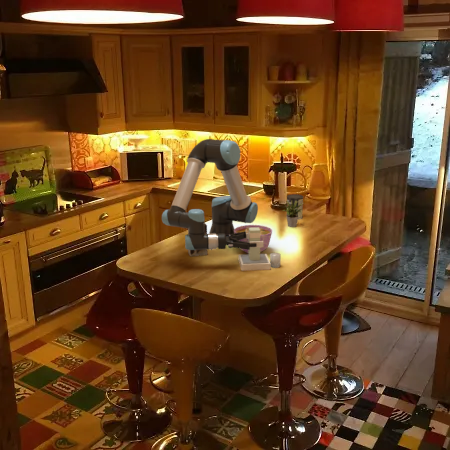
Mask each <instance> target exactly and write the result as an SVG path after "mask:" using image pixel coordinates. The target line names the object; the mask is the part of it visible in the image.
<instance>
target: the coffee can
mask: <svg viewBox="0 0 450 450" xmlns="http://www.w3.org/2000/svg"><path fill="white" fill-rule="evenodd" d="M291 200H292V203H293V206H294V204H295V201H296V202H297V201H298V202H297V205H296V207H297V206H299V205H300V204H301V206H300V207H299V208H298V209H300V210H301V212H302V213H301V212H297V213H298V214H297V213H296V214H297V216H298V220H302V219H303V206H304V196H303V195H302V194H296V193H295V194H294V193H293V194H288V195H287V196H286V201H287V202H288V203H289V204H290V207H291V204H292V203H291ZM287 202H286V206H288V204H287ZM302 203H303V204H302ZM295 209H296V208H295ZM287 210H288V208H287V207H286V216H287V215H289V213H288V212H287Z"/></svg>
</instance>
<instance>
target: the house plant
mask: <svg viewBox="0 0 450 450" xmlns="http://www.w3.org/2000/svg"><path fill="white" fill-rule="evenodd" d="M297 202H298V201H297ZM297 202H296V201H295V204H294V206H293V203H292V200H291V203H292V204H291V207H290V204H289V203H288V202H287V200H286V204H285V203H283V205H284V206H285V207H286V209H282V211H283V212H286V213H287V212H288V213H289V215H287V214H286V222H287V227H289V228H296V227H297V225H298V221H299V219H298V216H297V214H298V213H297V212H301V210H300V209H298V208H299V207H300V206H301V204H300V205H299V206H297V207H296V205H297ZM287 204H288V206H287ZM302 204H303V205H304V202H303V203H302ZM287 208H288V210H287ZM295 208H296V209H295ZM296 213H297V214H296ZM301 213H302V214H303V211H302V212H301Z"/></svg>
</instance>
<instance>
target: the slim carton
mask: <svg viewBox="0 0 450 450" xmlns="http://www.w3.org/2000/svg"><path fill="white" fill-rule="evenodd" d="M248 235H249V243H250V242H255V241H260V229H259V227H254V228H249V230H248ZM247 254H248V257H249V260H260V254H261V252H260V247H254V248H250V250H248V253H247Z"/></svg>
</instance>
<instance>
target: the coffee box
mask: <svg viewBox="0 0 450 450" xmlns="http://www.w3.org/2000/svg"><path fill="white" fill-rule="evenodd" d="M204 226H205V234H208V225H207V224H206V223H205V222H204ZM187 234H189V229H188V228H187ZM187 251H188V252H187V253H188V255H189V256H190V257H199V255H200V256H207V255H208V249H204V250H187Z"/></svg>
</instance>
